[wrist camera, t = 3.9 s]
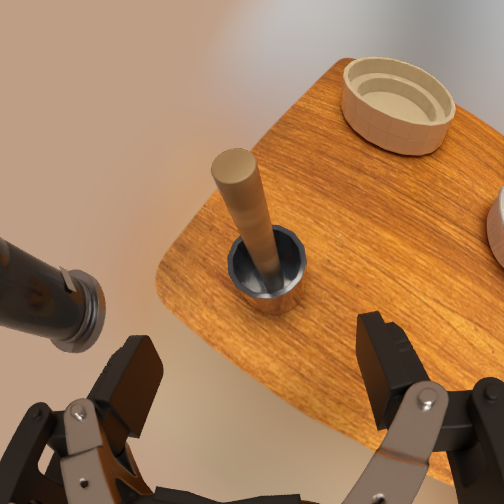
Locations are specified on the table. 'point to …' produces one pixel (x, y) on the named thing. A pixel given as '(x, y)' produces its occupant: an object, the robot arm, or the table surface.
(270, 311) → the utensil pot
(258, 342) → the table surface
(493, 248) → the ramekin
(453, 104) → the bowl
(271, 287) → the stick
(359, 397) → the table surface
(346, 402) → the table surface
